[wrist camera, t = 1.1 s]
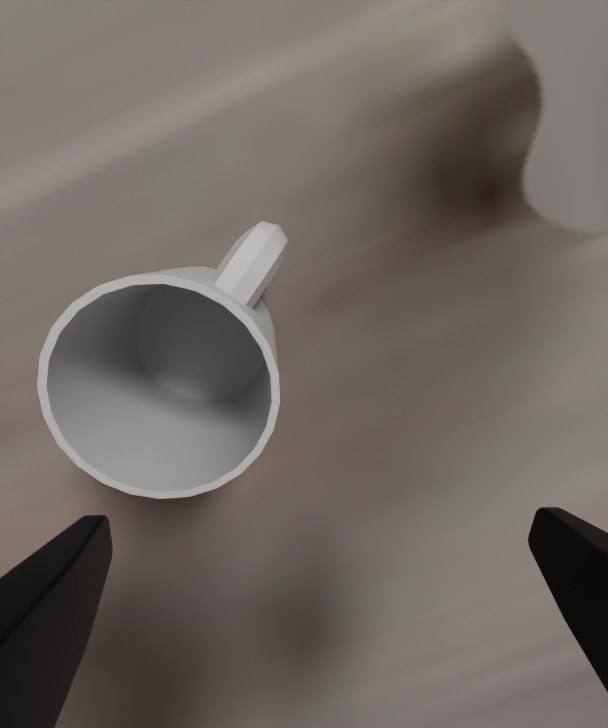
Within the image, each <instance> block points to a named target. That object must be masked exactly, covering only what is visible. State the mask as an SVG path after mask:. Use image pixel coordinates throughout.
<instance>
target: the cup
mask: <svg viewBox="0 0 608 728" xmlns="http://www.w3.org/2000/svg"><path fill="white" fill-rule="evenodd" d="M287 242H288V240H287V238H286V237H285V235H284V233H283V232H282V230H281V228H280V227H279V225H276V224H272V223H268V222H264V221H261V222H260V223H258V224H257V225H255V226H254V227H252V228H250V229H249V230H247V231H246V232H245V233H244V234H243V235H242V236H241V237H240V238H239V239H238V240H237V242H236V243H235V244H234V246H233V247H232V248H231V249H230V251H229V252H228V254H227V255H226V257H225V258H224V259H223V261H222V262H221V264H220V265H219V267H218V268H217V269H213V268H209V267H205V266H203V267H182V268H175V269H169V270H163V271H157V272H151V273H144V274H138V275H132V276H128V277H125V278H121V279H118V280H115V281H112V282H108V283H105V284H102V285H99V286H97V287H96V288H94V289H93V290H91V291H90V292H88V293H87V294H85V295H84V296H82V297H81V298H79V299H78V300H76V301H75V302H73V303H71V305H70V306H69V307H68V308H67V309H66V311H65V312H64V313H63V314H62V315H61V317H60V318H59V319H58V320H57V321H56V323H55V324H54V325H53V326H52V327H51V330H50V332H49V335H48V337H47V340H46V342H45V345H44V347H43V349H42V352H41V354H40V359H39V370H38V381H37V388H38V393H39V398H40V403H41V408H42V413H43V417H44V418H45V420H46V422H47V424H48V426H49V428H50V430H51V432H52V434H53V436H54V438H55V440H56V442H57V444H58V445H59V446H60V447H61V448H62V449H63V450H64V451H65V453H66V454H67V455H68V456H69V457H70V458H71V459H72V460H73V461H74V463H75V464H76V465H77V466H78V467H80V468H81V469H83V470H84V471H86V472H87V473H88V474H90V475H91V476H93V477H94V478H96V479H97V480H98V481H100V482H101V483H103V484H106V485H108V486H111V487H113V488H116V489H118V490H121V491H123V492H126V493H128V494H131V495H138V496H144V497H151V498H157V499H167V498H181V497H191V496H194V495H197V494H200V493H204V492H207V491H210V490H213V489H216V488H218V487H220V486H222V485H223V484H225V483H227V482H228V481H230V480H231V479H233V478H235V477H236V476H238V475H240V474H241V473H242V472H243V471H244V470H245V469H246V468H247V467H248V466H249V465H250V464H251V463H252V462H253V461H254V460H255V459H256V458H257V457H258V456H259V455H260V454H261V452H262V450H263V448H264V446H265V444H266V443H267V441H268V439H269V437H270V435H271V434H272V432H273V430H274V426H275V422H276V418H277V413H278V409H279V405H280V390H279V372H278V362H277V351H276V341H275V330H274V327H273V324H272V320H271V317H270V314H269V311H268V310H267V308H266V306H265V305H264V303H263V302H262V300H261V299H260V296H261V294H262V293H263V291H264V290H265V288H266V287H267V285H268V284H269V282H270V281H271V279H272V278H273V276H274V275H275V273H276V272H277V270H278V268H279V267H280V265H281V263H282V261H283V259H284V256H285V252H286V247H287Z"/></svg>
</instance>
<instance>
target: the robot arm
mask: <svg viewBox="0 0 608 728" xmlns="http://www.w3.org/2000/svg"><path fill="white" fill-rule="evenodd" d="M528 542H529V547H530V550H531V552H532V554H533V556H534V558H535V560H536V562H537V564H538V566H539V568H540V570H541V573H542V575H543V577H544V579H545V581H546V583H547V585H548V587H549V589H550V591H551V593H552V595H553V597H554V599H555V601H556V603H557V606H558V608H559V610H560V611H561V613H562V615H563V617H564V619H565V621H566V623H567V625H568V626H569V628H570V630H571V632H572V633H573V635H574V637H575V638H576V640H577V642H578V643H579V645H580V647H581V648H582V650H583V652H584V653H585V655H586V657H587V658H588V660H589V662H590V664H591V665H592V667H593V669H594V670H595V672H596V674H597V675H598V677H599V679H600V680H601V682H602V684H603V685H604V687H605V689H606V690H607V692H608V533H607V532H605V531H603V530H601V529H599V528H597V527H595V526H593V525H592V524H590V523H588V522H586V521H584V520H582V519H580V518H578V517H576V516H574V515H572V514H571V513H569V512H567V511H565V510H563V509H561V508H558V507H542V508H539V509H538V510H537V511H536V514H535V517H534V520H533V523H532V526H531V530H530V533H529V537H528ZM112 549H113V548H112V540H111V532H110V525H109V520H108V517H107V516H105V515H86V516H83V517H82V518H80V519H79V520H77V521H76V522H75V523H73V524H72V525H71V526H69V527H68V528H67V529H65V530H64V531H63V532H61V533H60V534H59V535H57V536H56V537H55V538H53V539H52V540H51V541H49V542H48V543H47V544H45V545H44V546H42V547H41V548H40V549H38V550H37V551H36V552H34V553H33V554H32V555H30V556H29V557H28V558H26V559H25V560H24V561H22V562H21V563H20V564H18V565H17V566H16V567H14V568H13V569H12V570H10V571H9V572H8V573H6V574H5V575H4V576H2V577H1V578H0V728H54V727H55V725H56V722H57V720H58V717H59V715H60V712H61V710H62V707H63V705H64V702H65V700H66V697H67V695H68V692H69V689H70V687H71V684H72V682H73V679H74V677H75V674H76V672H77V669H78V667H79V664H80V662H81V659H82V657H83V654H84V651H85V648H86V646H87V643H88V640H89V637H90V633H91V630H92V627H93V623H94V620H95V616H96V613H97V609H98V605H99V602H100V598H101V595H102V591H103V588H104V584H105V581H106V577H107V574H108V570H109V566H110V563H111V559H112Z"/></svg>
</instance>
